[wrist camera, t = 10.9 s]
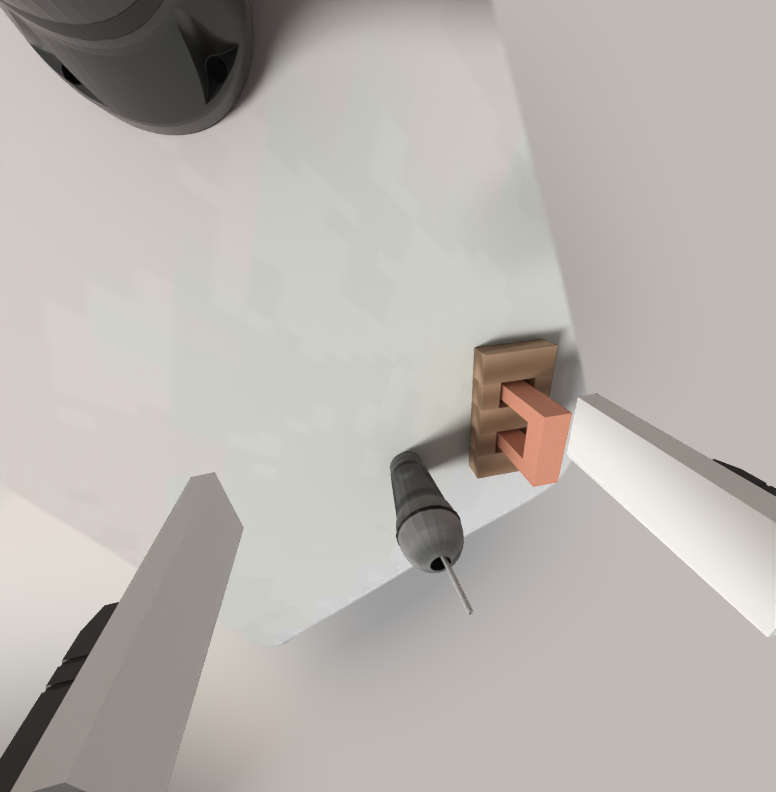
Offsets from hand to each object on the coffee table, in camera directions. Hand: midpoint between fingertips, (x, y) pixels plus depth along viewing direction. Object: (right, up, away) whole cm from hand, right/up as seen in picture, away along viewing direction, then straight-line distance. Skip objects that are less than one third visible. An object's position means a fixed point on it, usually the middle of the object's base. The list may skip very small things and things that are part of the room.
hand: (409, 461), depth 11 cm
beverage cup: (+2, -7, +32) cm, 33 cm away
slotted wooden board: (+15, +1, +31) cm, 34 cm away
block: (+15, +1, +31) cm, 34 cm away
